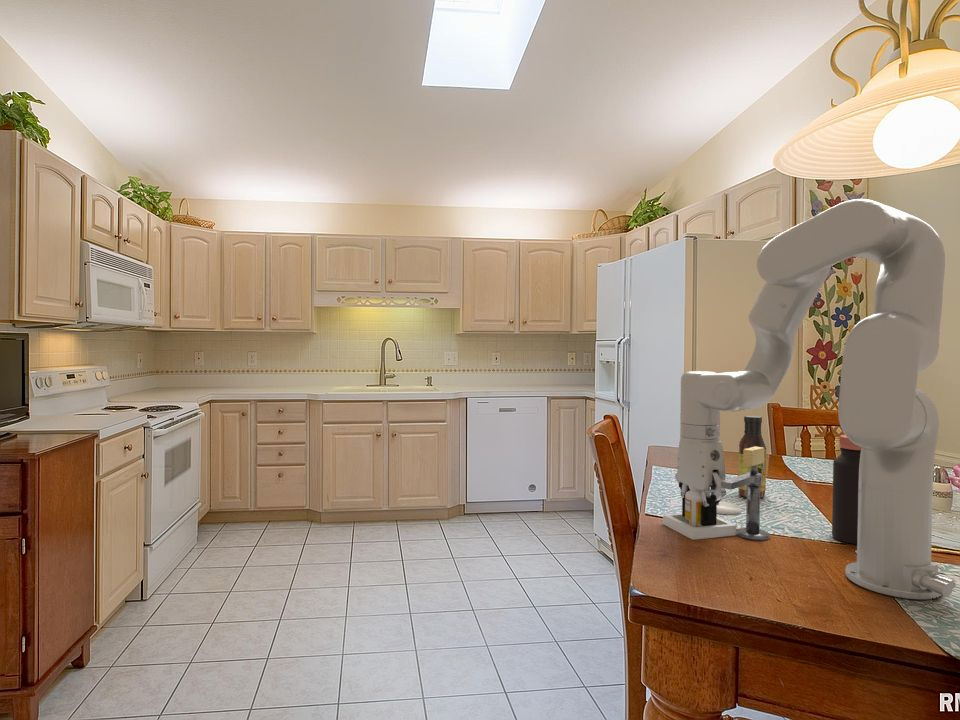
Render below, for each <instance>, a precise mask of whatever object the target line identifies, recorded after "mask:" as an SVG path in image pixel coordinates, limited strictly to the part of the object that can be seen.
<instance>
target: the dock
mask: <svg viewBox="0 0 960 720" xmlns="http://www.w3.org/2000/svg"><path fill="white" fill-rule="evenodd" d="M662 524H663V525H664V526H666V527H667V528H669V529H671V530H673V531H675V532H677V533H679V534H681V535H683V536H684V537H686V538H688V539H690V540H692V541H693V540H703V539H704V540H705V539H714V538H722V537H724V538H725V537H732V536H737V535H736V530H737V524H735V523H733V522H730V521H728V520H725V519H723V518H720V517H719V516H717V519H716V525H713V526H704V527H692V526H690V525H688V524H686V523H685V517H684V516H682V512H680V513H677V512H676V513H669V514H668V513H667V514H662Z"/></svg>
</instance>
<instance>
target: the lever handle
mask: <svg viewBox="0 0 960 720" xmlns="http://www.w3.org/2000/svg"><path fill="white" fill-rule="evenodd" d="M761 463H764V448H763V447H756V446H755V447H751V448H747V449H743V465H749V466H750V472H746V473H745V474H743V475H740V476H738V475H737V476H734V477H731V478H727V479H726V480H724V481H721V488H725V490H731V491H732V490H734V489H735V490H736V489H739V488H738V487H741V486H744V485H747V484H748V485H753V486H760V485H762V474H761V473H757V465H758V464H761Z"/></svg>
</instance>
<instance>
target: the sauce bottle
mask: <svg viewBox="0 0 960 720" xmlns="http://www.w3.org/2000/svg"><path fill="white" fill-rule="evenodd" d="M743 423H744V431H743V432H744V434H743V436H742V437H741V438H740V441H739V443H738V444H739V446H738V447H739V448H738V449H739V450H738V451H739V452H738V464H737V466H738V469H737V472H738V473H737V476H740V475H743V474H745V473H746V472H750V466H749V465H743V449H747V448H751V447H755V446H756V447H763V448H764V463H761V464H758V465H757V473H761V474H762V485H760V499H762V498H765V496H766V490H767V489H766V486H767V483H766V482H767V447H766V444H765V441H764V439H763V438H764V437H763V435H762V423H763V417H762V416H759V415H757V416H756V415H744V417H743ZM737 489H738V494H739V496H741V497H743V498H747V485H744V486H741V487H738V488H737Z"/></svg>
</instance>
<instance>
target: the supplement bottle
mask: <svg viewBox="0 0 960 720" xmlns="http://www.w3.org/2000/svg"><path fill="white" fill-rule="evenodd" d="M689 489H690V491H688V492H686V494H685V523H686V524H688V525H690V526H692V527H704V526H702V525H701V506H702V505H703V500H702V494H701V490H698V489H696V488H694V487H692V486H689ZM710 489H711V487H709V489H708V490H710ZM707 494H708V498H709V497H710V496H711V493H707ZM711 526H713V525H711Z"/></svg>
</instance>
